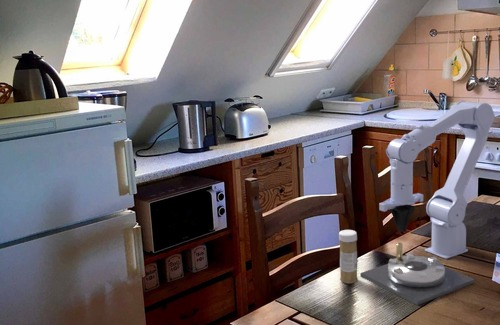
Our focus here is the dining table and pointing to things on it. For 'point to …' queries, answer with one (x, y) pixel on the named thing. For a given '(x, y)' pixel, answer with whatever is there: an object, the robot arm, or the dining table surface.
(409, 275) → the tabbed hub disc
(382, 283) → the base plate
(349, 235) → the sprinkles bottle
